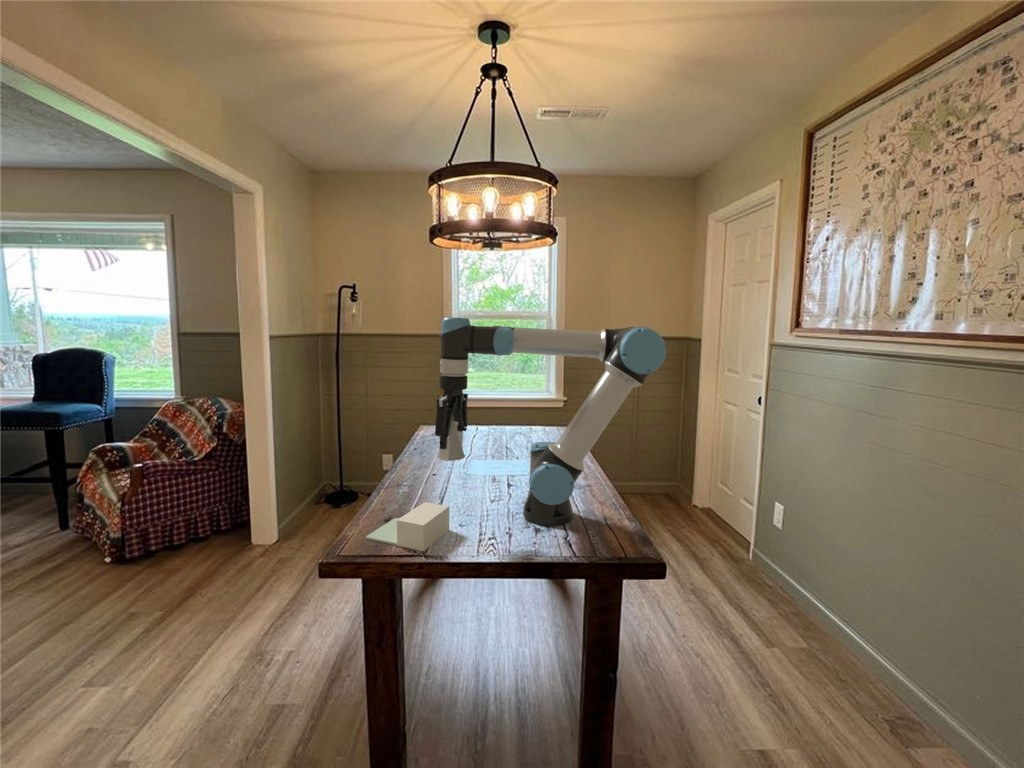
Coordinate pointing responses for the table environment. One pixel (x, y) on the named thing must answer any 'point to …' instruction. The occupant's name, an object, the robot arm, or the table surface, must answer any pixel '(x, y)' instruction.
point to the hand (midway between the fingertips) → (450, 456)
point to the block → (422, 526)
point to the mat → (385, 533)
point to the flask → (455, 443)
